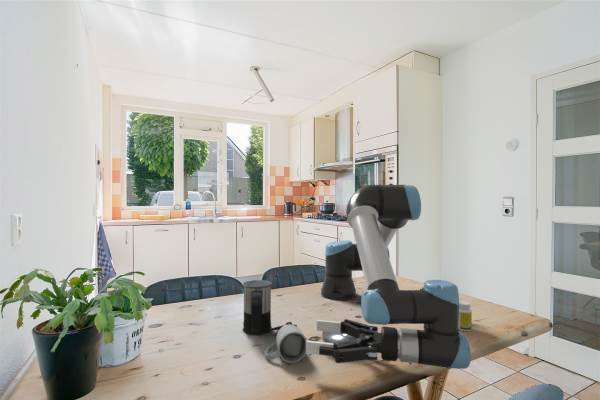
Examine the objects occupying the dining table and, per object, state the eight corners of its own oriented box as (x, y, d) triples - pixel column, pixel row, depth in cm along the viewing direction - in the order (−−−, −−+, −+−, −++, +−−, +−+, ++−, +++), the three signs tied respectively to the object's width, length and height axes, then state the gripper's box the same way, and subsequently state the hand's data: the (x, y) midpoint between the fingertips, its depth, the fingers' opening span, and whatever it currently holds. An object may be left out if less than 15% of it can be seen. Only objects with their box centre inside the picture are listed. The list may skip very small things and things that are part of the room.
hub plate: (312, 334, 98) (312, 330, 98) (350, 325, 106) (350, 321, 106) (343, 354, 85) (343, 350, 85) (384, 342, 93) (384, 338, 93)
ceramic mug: (301, 347, 90) (300, 319, 90) (308, 361, 82) (307, 331, 82) (263, 351, 87) (262, 323, 87) (266, 366, 79) (266, 335, 79)
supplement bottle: (474, 329, 102) (474, 303, 102) (466, 333, 100) (466, 306, 100) (460, 324, 106) (460, 299, 106) (451, 327, 104) (451, 301, 104)
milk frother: (239, 326, 104) (239, 281, 104) (285, 319, 111) (285, 276, 111) (250, 344, 91) (250, 292, 91) (301, 335, 97) (301, 286, 98)
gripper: (401, 389, 65) (300, 375, 70) (395, 338, 89) (320, 330, 94) (401, 352, 65) (300, 341, 70) (395, 311, 89) (320, 305, 95)
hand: (311, 335), depth 82 cm, fingers open, 13 cm apart
